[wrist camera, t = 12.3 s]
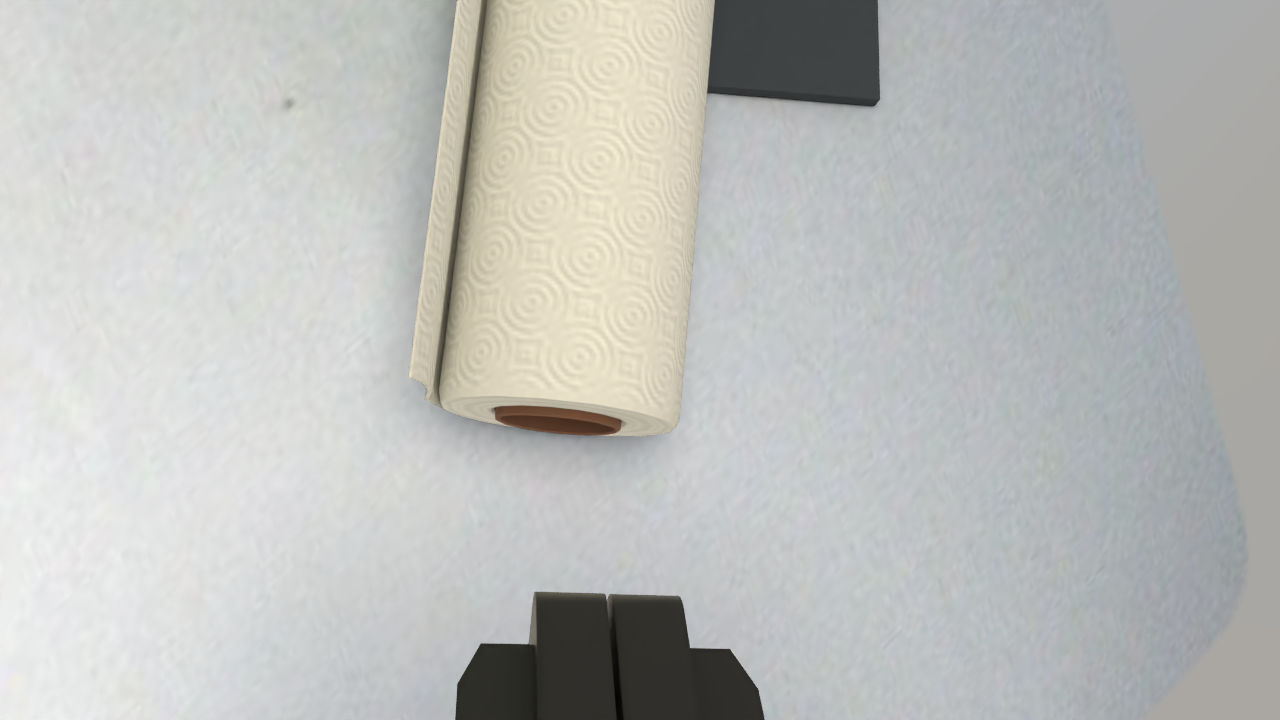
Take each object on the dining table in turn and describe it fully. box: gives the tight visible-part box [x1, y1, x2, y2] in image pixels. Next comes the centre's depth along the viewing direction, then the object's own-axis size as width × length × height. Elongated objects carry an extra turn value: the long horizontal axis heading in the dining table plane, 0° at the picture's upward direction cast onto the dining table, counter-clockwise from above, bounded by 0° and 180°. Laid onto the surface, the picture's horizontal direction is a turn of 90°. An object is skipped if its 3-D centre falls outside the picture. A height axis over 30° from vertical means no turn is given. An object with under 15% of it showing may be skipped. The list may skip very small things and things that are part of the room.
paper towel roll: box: [409, 0, 715, 436], centre depth 31 cm, size 7×6×21 cm
